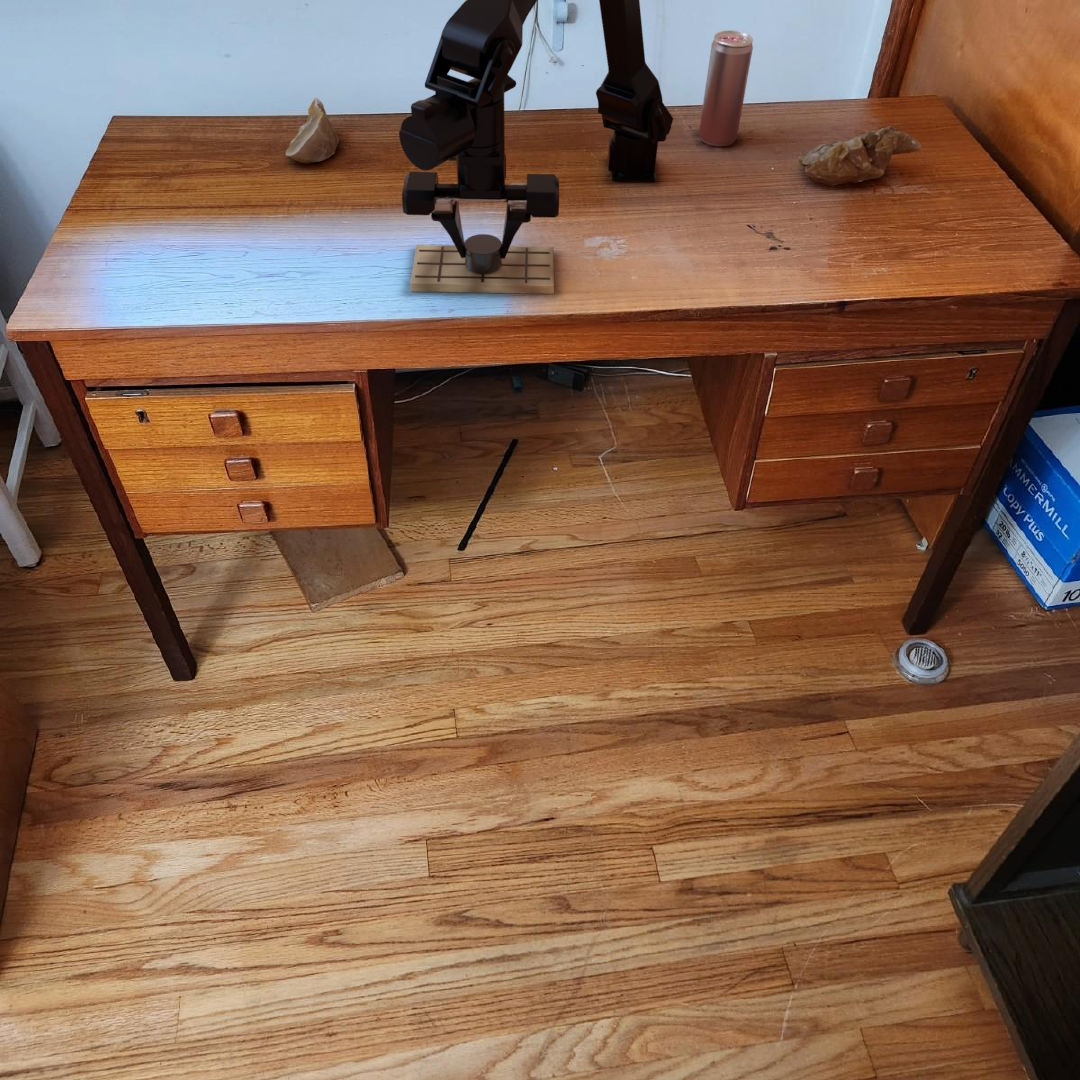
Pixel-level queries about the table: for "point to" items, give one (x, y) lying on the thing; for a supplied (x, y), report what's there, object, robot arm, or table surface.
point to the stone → (314, 137)
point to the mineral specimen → (856, 156)
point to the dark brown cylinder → (483, 253)
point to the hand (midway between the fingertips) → (483, 256)
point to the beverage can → (725, 87)
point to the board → (516, 275)
